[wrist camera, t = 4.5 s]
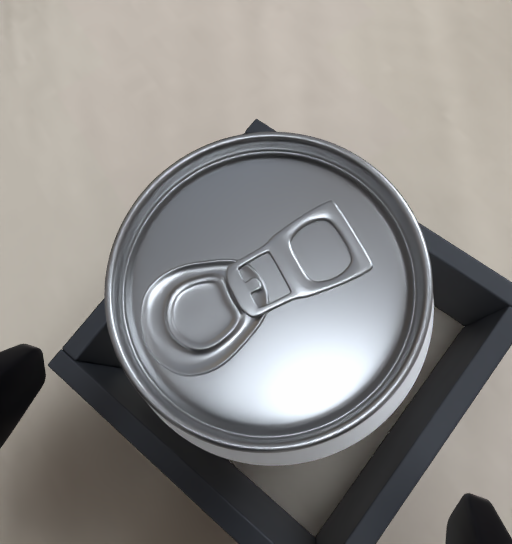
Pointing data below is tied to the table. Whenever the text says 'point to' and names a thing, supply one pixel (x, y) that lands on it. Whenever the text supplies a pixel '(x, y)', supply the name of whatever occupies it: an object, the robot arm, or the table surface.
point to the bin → (386, 460)
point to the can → (271, 298)
